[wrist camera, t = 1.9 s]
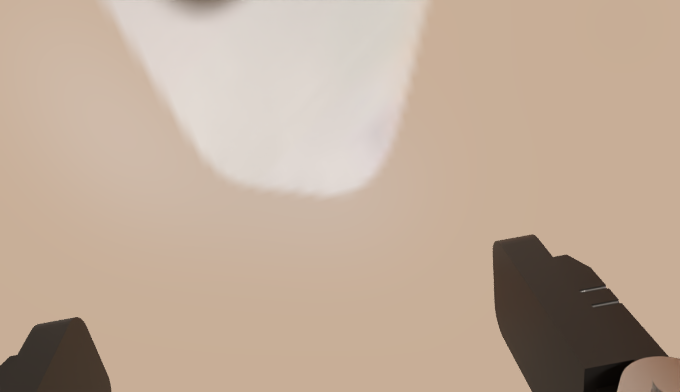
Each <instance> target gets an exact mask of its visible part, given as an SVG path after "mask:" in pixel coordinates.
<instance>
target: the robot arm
mask: <svg viewBox="0 0 680 392" xmlns="http://www.w3.org/2000/svg"><path fill="white" fill-rule="evenodd" d="M493 270H494V297H495V311H496V317H497V321H498V325H499V328H500V331H501V334H502V336H503V338H504V340H505V342H506V344H507V346H508V347H509V349H510V351H511V353H512V355H513V357H514V359H515V361H516V362H517V364H518V366H519V368H520V370H521V372H522V374H523V375H524V377H525V379H526V381H527V383H528V385H529V387H530V389H531V391H532V392H680V359H678V358H673V357H669V356H668V355H667V354H666V353H665V352H664V351H663V350H662V349H661V348H660V346H659V345H658V344H657V343H656V342H655V341H654V339H653V338H652V337H651V336H650V335H649V334H648V333H647V331H646V330H645V329H644V328H643V327H642V326H641V325H640V323H639V322H638V321H637V320H636V319H635V318H634V317H633V315H631V313H630V312H629V311H628V310H627V309H626V308H625V307H624V305H623V304H622V303H619V301H618V299H617V297H616V296H615V295H614V294H613V293H612V292H611V290H610V289H607V288H606V285H605V284H604V282H602V280H601V279H600V278H599V277H598V276H597V275H596V273H595V272H594V271H593V270H592V269H591V268H590V267H588V266H587V265H585V264H583V263H581V262H579V261H577V260H575V259H574V258H572V257H570V256H568V255H562V256H557V257H552V256H551V254H550V253H549V252H548V250H547V249H546V248H545V247H544V245H543V244H542V243H541V242H540V240H539V239H538V238H537V237H536V236H535V235H527V236H522V237H516V238H511V239H505V240H500V241H495V243H494V245H493ZM0 392H111V386H110V381H109V377H108V375H107V372H106V370H105V368H104V365H103V363H102V361H101V359H100V356H99V354H98V352H97V349H96V347H95V345H94V343H93V340H92V338H91V336H90V333H89V331H88V329H87V327H86V325H85V323H84V321H83V320H82V319H80V318H78V317H75V318H70V319H64V320H59V321H53V322H48V323H43V324H38V325H36V326H34V327H33V329H32V330H31V332H30V334H29V335H28V337H27V339H26V341H25V342H24V344H23V346H22V348H21V350H20V351H19V353H18V355H16V356H10V357H9V358H8V359H7V360H6V361H5V362H4V363H3V364H2V365H0Z"/></svg>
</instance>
